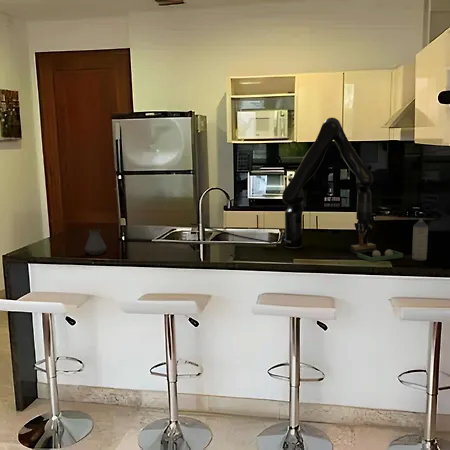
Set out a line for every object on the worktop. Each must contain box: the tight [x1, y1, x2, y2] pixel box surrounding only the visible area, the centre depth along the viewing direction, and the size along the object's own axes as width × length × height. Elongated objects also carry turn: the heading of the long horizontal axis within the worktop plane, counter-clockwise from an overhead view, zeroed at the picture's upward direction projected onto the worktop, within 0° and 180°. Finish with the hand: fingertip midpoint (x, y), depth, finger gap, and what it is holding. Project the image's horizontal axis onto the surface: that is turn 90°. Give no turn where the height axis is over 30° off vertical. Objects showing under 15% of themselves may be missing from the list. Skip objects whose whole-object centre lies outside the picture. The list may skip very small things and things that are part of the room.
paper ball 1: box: [371, 249, 382, 257], centre depth 265 cm, size 4×4×4 cm
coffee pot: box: [84, 221, 107, 256], centre depth 294 cm, size 21×12×15 cm, turn 2°
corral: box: [356, 248, 404, 262], centre depth 268 cm, size 12×19×2 cm, turn 112°
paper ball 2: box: [384, 249, 393, 256], centre depth 266 cm, size 4×4×4 cm
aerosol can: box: [411, 218, 429, 262], centre depth 260 cm, size 7×7×20 cm
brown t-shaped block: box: [349, 232, 377, 255], centre depth 279 cm, size 5×13×10 cm, turn 112°
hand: (363, 243), depth 279 cm, fingers closed on brown t-shaped block, 2 cm apart
